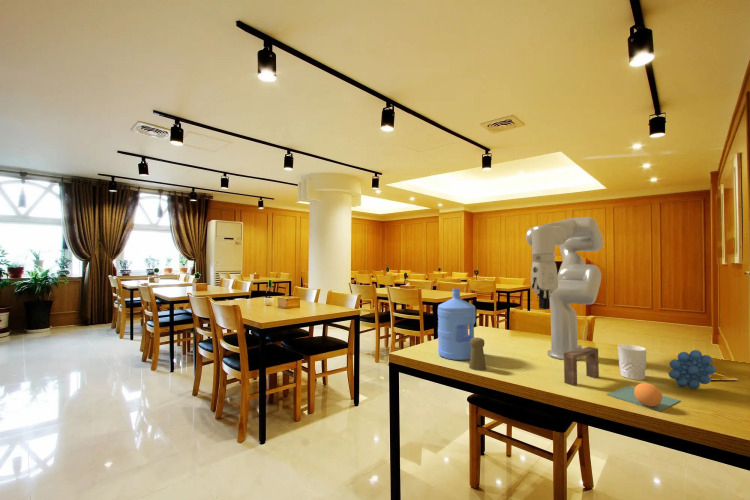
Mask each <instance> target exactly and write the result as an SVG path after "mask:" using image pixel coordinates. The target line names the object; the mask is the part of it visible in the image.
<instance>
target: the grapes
mask: <svg viewBox="0 0 750 500" xmlns="http://www.w3.org/2000/svg"><path fill="white" fill-rule="evenodd" d="M712 363H713V358H712V356H710V355H708V354H706V355H705V354H704V355H703V354H702V352H701V351H700V350H697V349H696V350H695V349H693V350H691V351H690V352H686V351H681V352H679V353H678V354H677V359H672V360H671V361H670V362H669V367H670V369H671V368H672V369H671V370H669V372H668V376H669V378H670V379H672V380H675V384H676V386H677V387H680V388H684V387H685V388H686V386H687V387H688V388H689V389H691V388H692V389H693V390H696V389H699V388H700V385H707V384H709V383H710V382H712V381H711V380H712V377H710V376H709V375H712V376H713V375H715V374H714V373H715V372H717V368H716V366H715V365H714V364H712ZM707 374H708V375H707Z"/></svg>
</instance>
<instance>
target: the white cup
mask: <svg viewBox="0 0 750 500" xmlns="http://www.w3.org/2000/svg"><path fill="white" fill-rule="evenodd" d="M617 355H618V357H617V358H618V366H619V373H620V376H621V377H623V378H625V377H626V379H630V380H635V381H643V380H645V379H646V370H647V369H646V368H647V348H646V347H643V346H640V345H635V344H618V345H617Z"/></svg>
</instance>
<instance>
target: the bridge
mask: <svg viewBox="0 0 750 500" xmlns="http://www.w3.org/2000/svg"><path fill="white" fill-rule="evenodd" d="M578 357H582V358H583V357H585V365H586V366H585V367H586V369H585V370H586V373H585V374H586V377H590V378H593V379H599V378H600V372H599V371H600V368H599V348H598V347H597V348H596V347H591V346H586V347H582V349H578V350H573V351H569V352H565V353H564V360H563V371H564V372H563V373H564V374H563V375H564V377H563V378H564V379H563V381H564V383H565V384H567V385H570V386H577V385H578V365H577V364H578V360H577V358H578Z"/></svg>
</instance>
